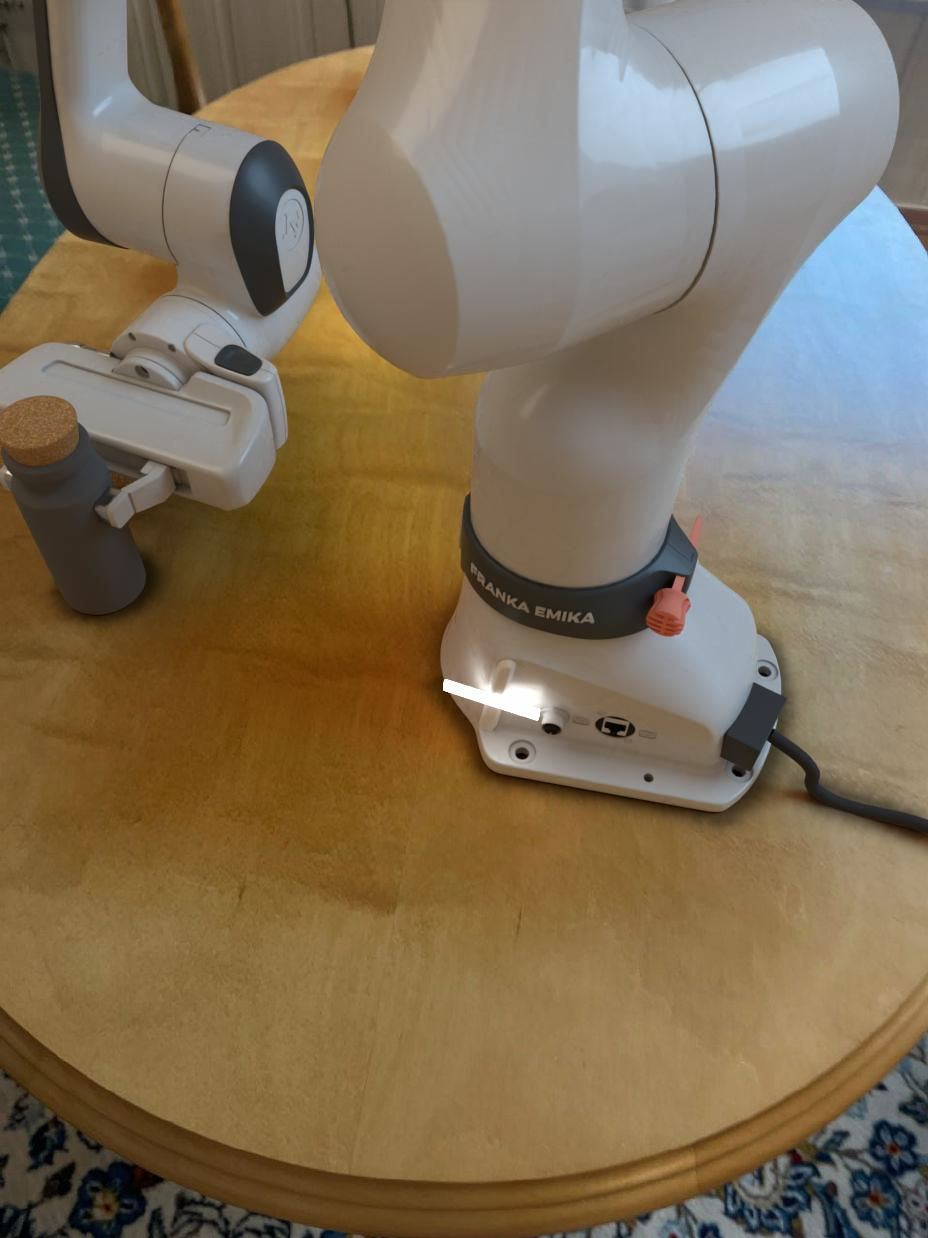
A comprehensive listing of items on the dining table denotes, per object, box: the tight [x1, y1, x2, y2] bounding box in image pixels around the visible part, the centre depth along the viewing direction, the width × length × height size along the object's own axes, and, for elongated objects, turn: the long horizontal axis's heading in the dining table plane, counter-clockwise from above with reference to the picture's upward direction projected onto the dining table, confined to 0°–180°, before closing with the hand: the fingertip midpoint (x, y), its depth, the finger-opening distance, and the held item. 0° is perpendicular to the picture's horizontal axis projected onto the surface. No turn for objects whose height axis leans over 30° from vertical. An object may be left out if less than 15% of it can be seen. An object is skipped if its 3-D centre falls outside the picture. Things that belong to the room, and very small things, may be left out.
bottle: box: [0, 395, 147, 616], centre depth 63 cm, size 6×6×15 cm
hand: (57, 502), depth 61 cm, fingers closed on bottle, 6 cm apart
